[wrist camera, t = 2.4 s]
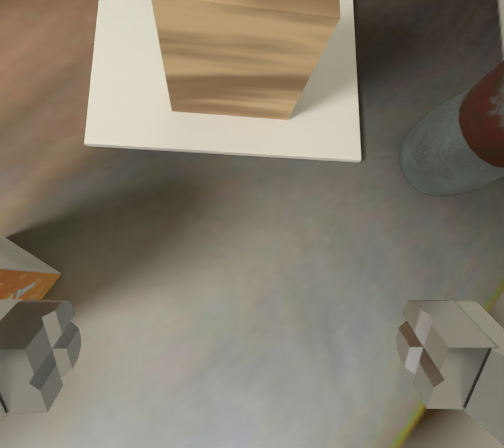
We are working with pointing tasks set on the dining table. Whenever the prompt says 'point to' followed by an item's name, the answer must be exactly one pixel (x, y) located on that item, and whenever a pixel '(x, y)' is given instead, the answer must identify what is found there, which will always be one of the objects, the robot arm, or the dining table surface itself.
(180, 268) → the dining table surface
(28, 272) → the small box
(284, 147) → the board
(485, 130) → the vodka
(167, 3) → the wooden block
